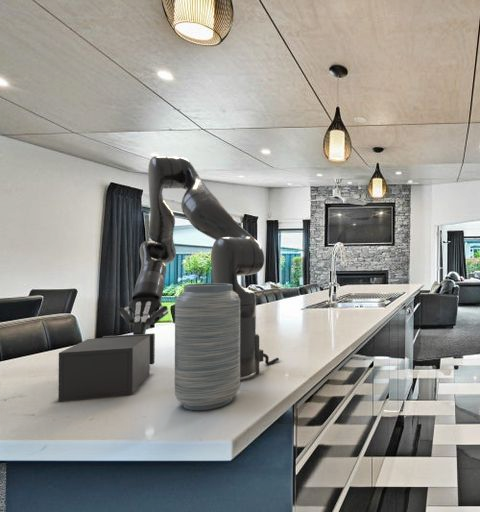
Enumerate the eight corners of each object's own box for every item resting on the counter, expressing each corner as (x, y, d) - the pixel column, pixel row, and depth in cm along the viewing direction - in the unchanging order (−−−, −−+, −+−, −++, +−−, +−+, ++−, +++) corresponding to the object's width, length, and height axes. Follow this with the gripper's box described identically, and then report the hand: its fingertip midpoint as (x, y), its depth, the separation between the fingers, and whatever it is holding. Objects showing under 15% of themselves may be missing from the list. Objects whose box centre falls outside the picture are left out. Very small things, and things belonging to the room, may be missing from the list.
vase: (210, 417, 68) (210, 286, 68) (159, 409, 72) (160, 285, 72) (252, 395, 79) (252, 283, 79) (206, 389, 83) (207, 282, 83)
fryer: (87, 380, 90) (87, 338, 90) (149, 375, 94) (149, 335, 94) (58, 401, 76) (58, 352, 76) (132, 394, 80) (132, 347, 80)
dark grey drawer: (109, 363, 102) (109, 333, 102) (158, 359, 105) (158, 330, 106) (81, 382, 85) (81, 347, 85) (141, 377, 89) (141, 343, 89)
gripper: (121, 281, 114) (106, 329, 102) (171, 280, 119) (163, 326, 107) (126, 297, 119) (113, 345, 107) (174, 296, 123) (166, 341, 112)
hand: (138, 335), depth 107 cm, fingers closed
